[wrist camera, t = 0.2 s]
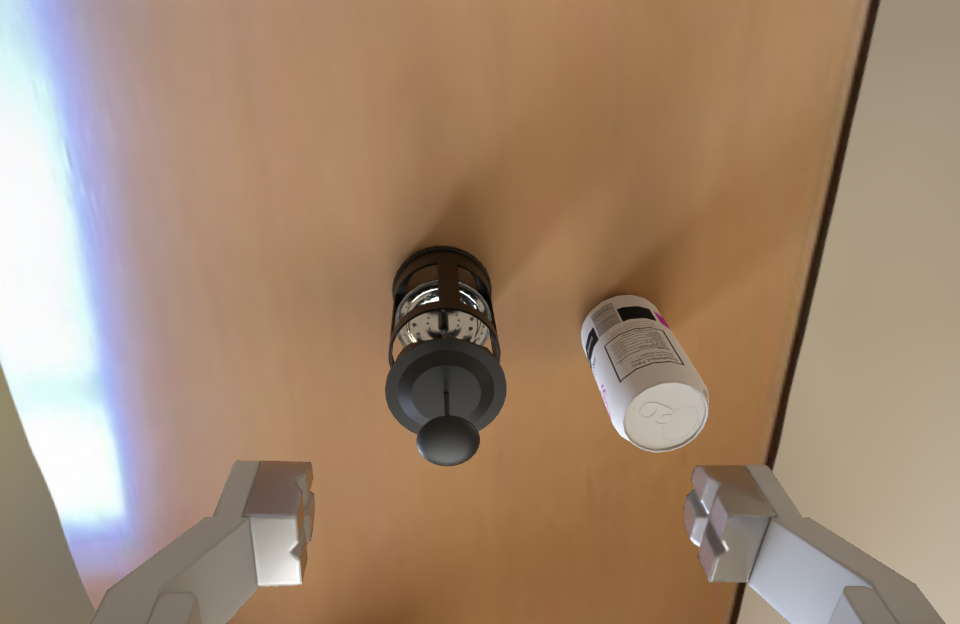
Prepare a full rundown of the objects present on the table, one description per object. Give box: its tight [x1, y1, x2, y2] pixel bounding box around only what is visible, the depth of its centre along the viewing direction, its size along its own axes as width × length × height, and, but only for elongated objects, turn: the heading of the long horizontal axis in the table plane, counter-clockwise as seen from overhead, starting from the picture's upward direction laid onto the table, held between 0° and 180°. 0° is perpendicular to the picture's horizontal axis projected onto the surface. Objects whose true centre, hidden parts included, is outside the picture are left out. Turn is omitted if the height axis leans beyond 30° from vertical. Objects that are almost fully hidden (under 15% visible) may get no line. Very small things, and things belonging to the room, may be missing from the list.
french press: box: [385, 246, 506, 466], centre depth 55 cm, size 12×9×23 cm
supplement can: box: [581, 295, 709, 452], centre depth 62 cm, size 8×8×15 cm
